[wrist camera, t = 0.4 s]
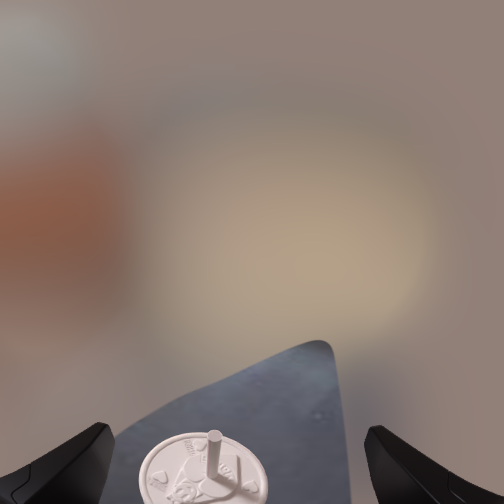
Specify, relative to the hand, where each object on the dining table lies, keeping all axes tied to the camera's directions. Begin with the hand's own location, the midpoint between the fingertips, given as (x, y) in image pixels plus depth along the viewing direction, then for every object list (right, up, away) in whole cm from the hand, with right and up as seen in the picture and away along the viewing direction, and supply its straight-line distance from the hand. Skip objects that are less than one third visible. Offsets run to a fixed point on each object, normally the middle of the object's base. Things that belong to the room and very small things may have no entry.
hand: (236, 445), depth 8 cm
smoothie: (-3, -14, +7) cm, 15 cm away
